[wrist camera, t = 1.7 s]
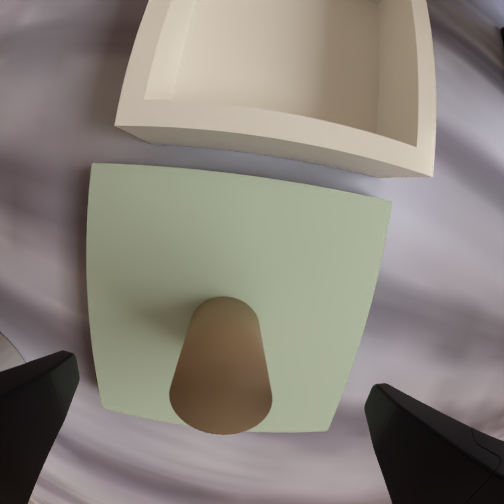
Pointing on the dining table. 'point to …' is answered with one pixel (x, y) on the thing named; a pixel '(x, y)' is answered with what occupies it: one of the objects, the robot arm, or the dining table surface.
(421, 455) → the robot arm
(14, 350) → the coffee cup
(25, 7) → the dining table surface
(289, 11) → the cream square tray
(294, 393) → the lid
